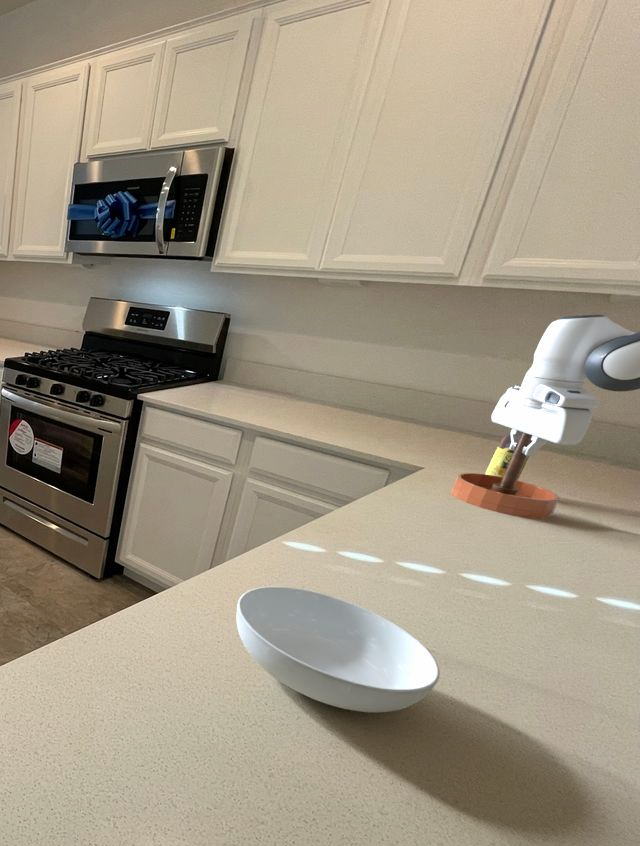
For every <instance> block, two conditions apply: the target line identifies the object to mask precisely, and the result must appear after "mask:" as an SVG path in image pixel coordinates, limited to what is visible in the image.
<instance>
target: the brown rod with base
mask: <svg viewBox="0 0 640 846" xmlns="http://www.w3.org/2000/svg"><path fill="white" fill-rule="evenodd" d="M532 436H533V435H530V434H527V433H524V432H522V435H521V437H520V439H519V442H518V444H517V446H516V449H515V451H514V453H513V456H512V458H511V460H510V462H509V465H508V467H507V469H506V472H505V474H504V476H503V479H502V481H501V483H500V484H499V483H494V484H493V486H492V488H491V490H492V491H496V492H500V493H504V494H509V495H514V496H517V494H518V492H519V489H518V488H516V487H513V486H514V484H515V482H516V480H517V477H518V475H519V473H520V471H521V468H522V466H523V464H524V462H525V459H526V457H527V456H526V455H524V454H522V451H523V448H524V446H528V445H529V444H530V443H531V442H532V440H531V438H532Z"/></svg>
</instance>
